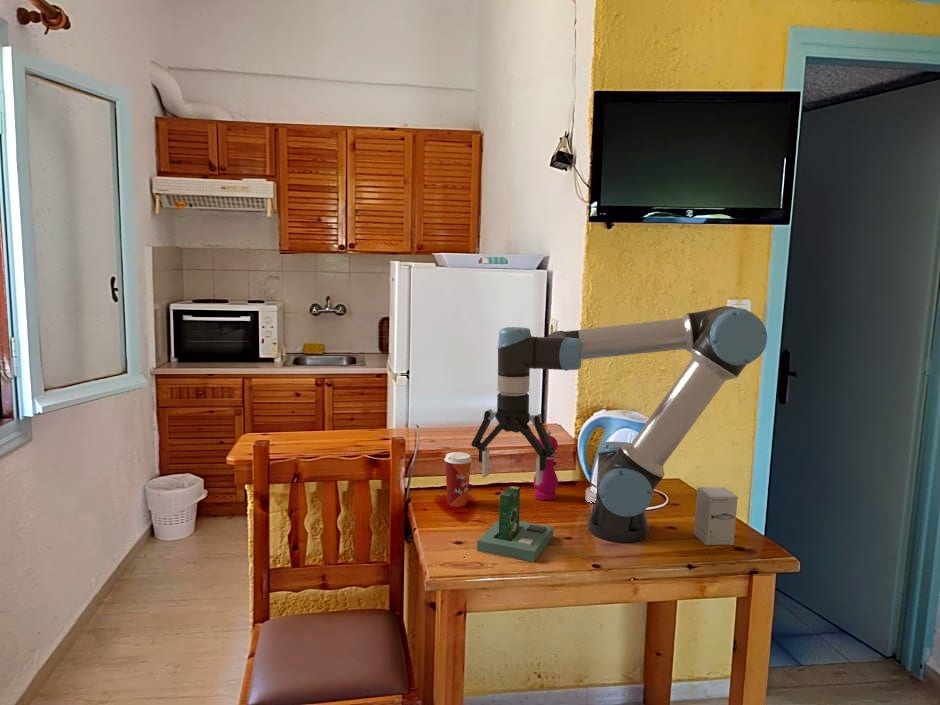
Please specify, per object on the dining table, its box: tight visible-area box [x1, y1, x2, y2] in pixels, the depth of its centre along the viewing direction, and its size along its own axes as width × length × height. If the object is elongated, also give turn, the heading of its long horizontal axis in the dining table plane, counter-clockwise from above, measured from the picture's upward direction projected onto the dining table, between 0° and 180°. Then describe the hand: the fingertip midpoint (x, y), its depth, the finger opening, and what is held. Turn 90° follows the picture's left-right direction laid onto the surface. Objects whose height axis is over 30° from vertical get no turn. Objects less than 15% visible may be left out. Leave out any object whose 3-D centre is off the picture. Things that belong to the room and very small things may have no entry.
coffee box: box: [498, 485, 521, 541], centre depth 162 cm, size 8×3×13 cm, turn 157°
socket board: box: [476, 519, 554, 563], centre depth 162 cm, size 14×16×3 cm
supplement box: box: [693, 486, 739, 546], centre depth 166 cm, size 7×7×13 cm
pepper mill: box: [532, 430, 559, 501], centre depth 194 cm, size 7×7×20 cm
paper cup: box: [444, 451, 473, 508], centre depth 188 cm, size 8×8×14 cm
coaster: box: [584, 486, 596, 503], centre depth 193 cm, size 10×10×4 cm
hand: (511, 479), depth 161 cm, fingers open, 13 cm apart
